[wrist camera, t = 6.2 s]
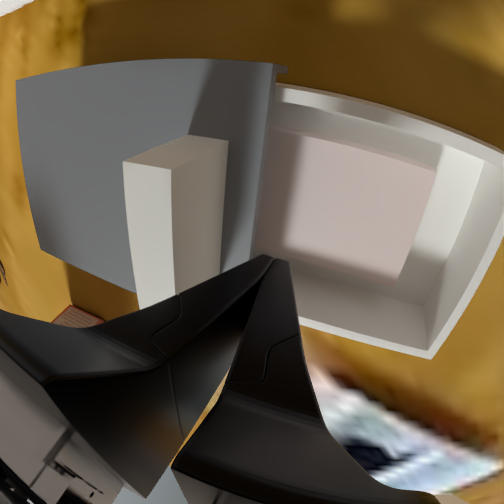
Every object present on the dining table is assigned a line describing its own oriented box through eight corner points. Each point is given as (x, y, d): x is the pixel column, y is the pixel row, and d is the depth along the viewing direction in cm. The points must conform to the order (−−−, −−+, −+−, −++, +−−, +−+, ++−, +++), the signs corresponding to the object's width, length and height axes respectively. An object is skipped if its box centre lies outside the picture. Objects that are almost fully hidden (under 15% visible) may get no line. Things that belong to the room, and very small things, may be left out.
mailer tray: (495, 146, 10) (529, 167, 7) (426, 311, 16) (431, 359, 13) (210, 76, 13) (167, 78, 10) (201, 246, 19) (169, 281, 16)
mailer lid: (288, 66, 10) (225, 55, 5) (254, 307, 16) (209, 389, 12) (41, 74, 13) (-34, 95, 9) (60, 236, 20) (5, 276, 15)
